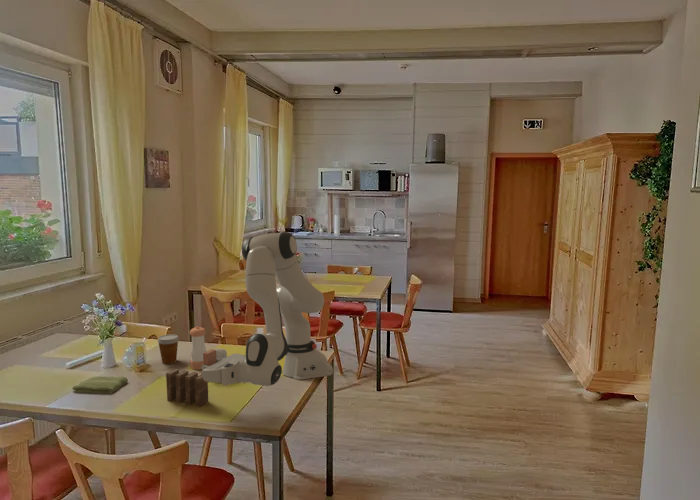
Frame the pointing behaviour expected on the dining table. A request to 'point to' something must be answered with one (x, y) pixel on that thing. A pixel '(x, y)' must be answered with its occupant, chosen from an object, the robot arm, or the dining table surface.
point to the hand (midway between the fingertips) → (208, 363)
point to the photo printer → (220, 353)
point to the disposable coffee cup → (168, 348)
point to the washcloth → (100, 384)
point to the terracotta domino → (209, 358)
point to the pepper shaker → (197, 347)
